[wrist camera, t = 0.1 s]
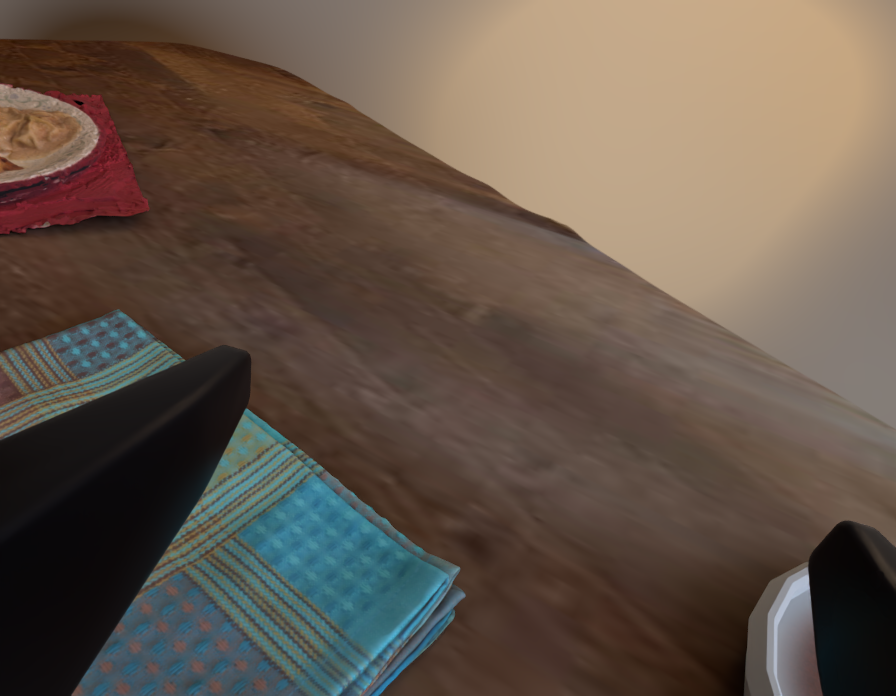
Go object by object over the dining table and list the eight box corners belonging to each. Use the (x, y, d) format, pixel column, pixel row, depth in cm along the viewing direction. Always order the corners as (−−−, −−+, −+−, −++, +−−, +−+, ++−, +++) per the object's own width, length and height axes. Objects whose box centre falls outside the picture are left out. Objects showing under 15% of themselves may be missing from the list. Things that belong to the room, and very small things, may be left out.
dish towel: (-1, 1152, 13) (-30, 1146, 12) (-331, 502, 22) (-370, 453, 21) (465, 607, 26) (480, 571, 24) (129, 330, 35) (124, 291, 33)
